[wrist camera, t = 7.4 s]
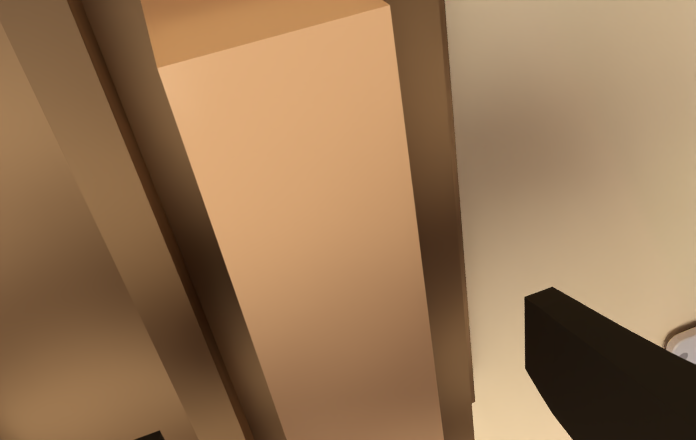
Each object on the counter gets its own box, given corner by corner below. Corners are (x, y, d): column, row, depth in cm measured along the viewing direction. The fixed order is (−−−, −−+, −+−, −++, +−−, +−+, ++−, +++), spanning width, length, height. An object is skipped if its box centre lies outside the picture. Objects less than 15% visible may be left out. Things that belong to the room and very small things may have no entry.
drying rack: (458, 376, 22) (506, 450, 20) (10, 548, 20) (-2, 658, 17) (408, -150, 13) (484, -140, 11) (-434, 42, 11) (-601, 117, 8)
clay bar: (386, 413, 20) (459, 562, 16) (295, 448, 20) (346, 612, 16) (292, -59, 12) (390, 4, 8) (135, -21, 12) (156, 68, 8)
